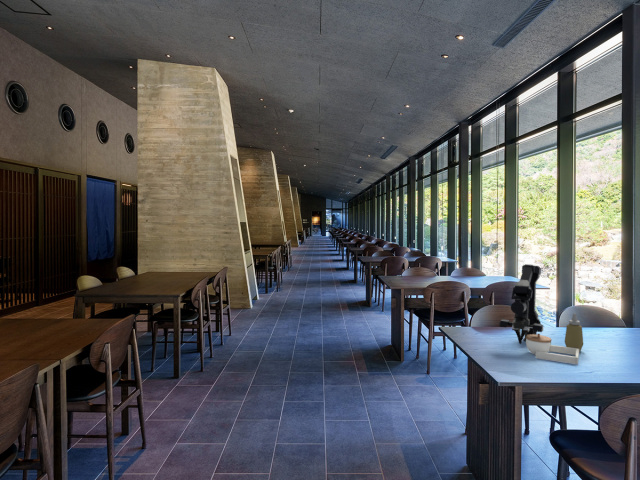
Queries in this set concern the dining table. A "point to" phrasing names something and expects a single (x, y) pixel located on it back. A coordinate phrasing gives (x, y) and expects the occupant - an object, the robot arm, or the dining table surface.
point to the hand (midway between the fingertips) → (520, 343)
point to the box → (560, 357)
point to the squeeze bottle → (574, 334)
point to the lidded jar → (538, 343)
